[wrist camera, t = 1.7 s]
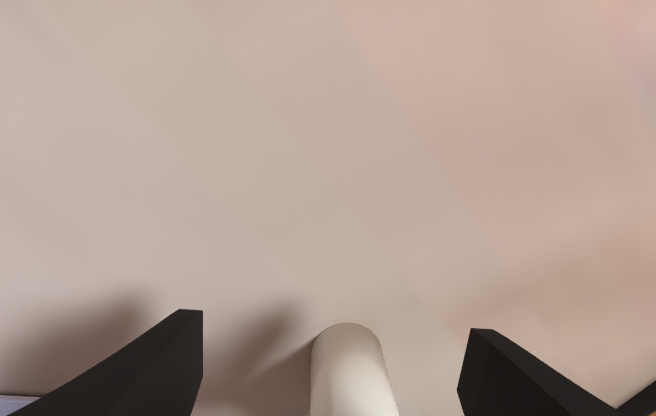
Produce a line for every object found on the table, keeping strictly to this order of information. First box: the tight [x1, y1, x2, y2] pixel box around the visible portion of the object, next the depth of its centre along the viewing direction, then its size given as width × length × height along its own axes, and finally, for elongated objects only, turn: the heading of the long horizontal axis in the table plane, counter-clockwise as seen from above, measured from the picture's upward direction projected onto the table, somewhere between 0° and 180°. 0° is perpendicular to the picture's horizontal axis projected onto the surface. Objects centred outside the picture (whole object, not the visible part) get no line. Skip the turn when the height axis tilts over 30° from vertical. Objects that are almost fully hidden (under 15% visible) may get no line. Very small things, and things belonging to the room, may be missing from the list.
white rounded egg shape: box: [310, 323, 399, 416], centre depth 18 cm, size 4×4×7 cm
